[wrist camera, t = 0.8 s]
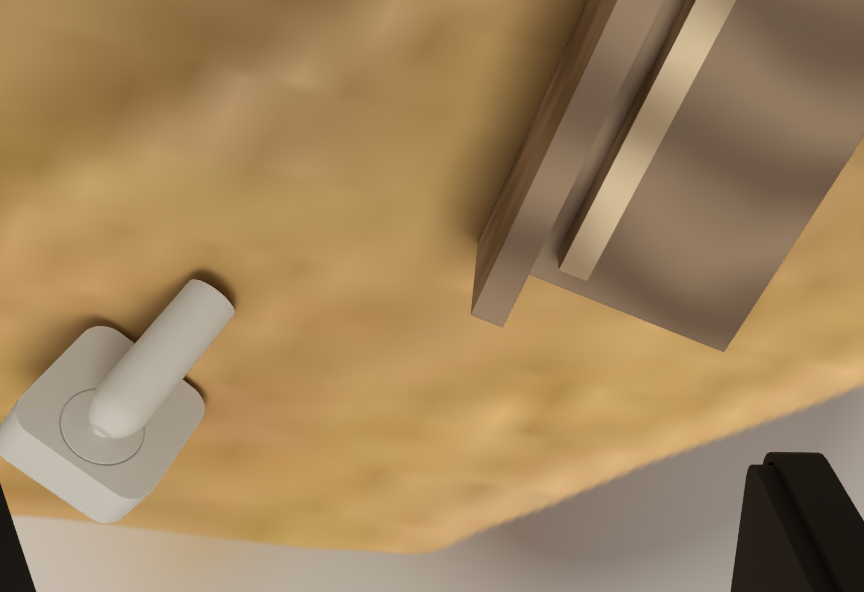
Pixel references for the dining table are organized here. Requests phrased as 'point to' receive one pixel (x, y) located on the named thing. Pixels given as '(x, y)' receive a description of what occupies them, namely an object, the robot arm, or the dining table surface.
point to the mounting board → (678, 158)
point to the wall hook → (116, 408)
